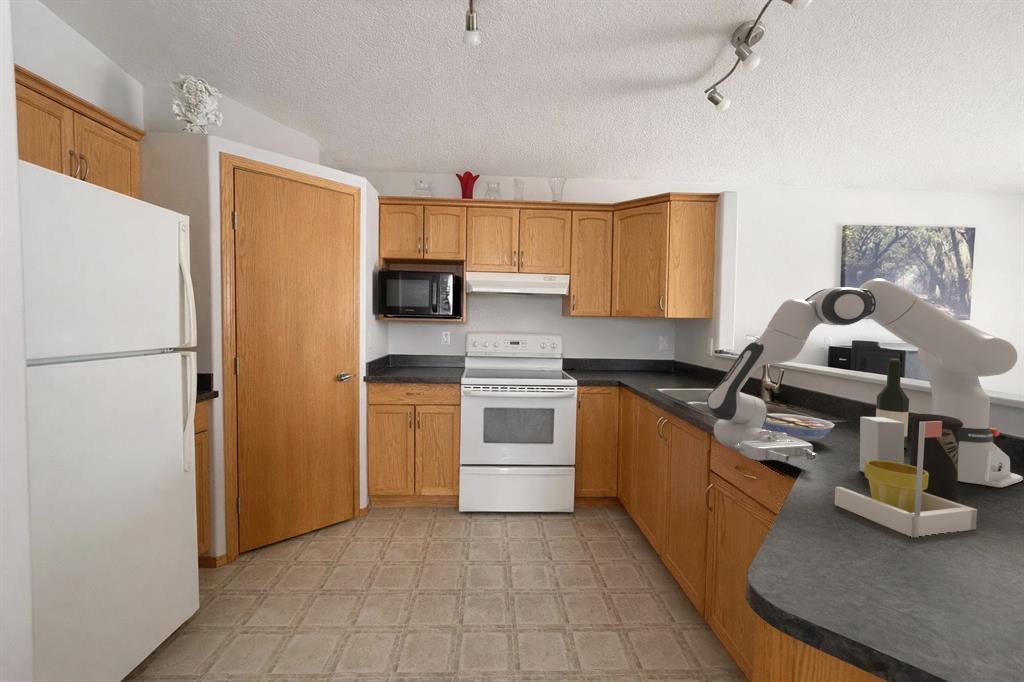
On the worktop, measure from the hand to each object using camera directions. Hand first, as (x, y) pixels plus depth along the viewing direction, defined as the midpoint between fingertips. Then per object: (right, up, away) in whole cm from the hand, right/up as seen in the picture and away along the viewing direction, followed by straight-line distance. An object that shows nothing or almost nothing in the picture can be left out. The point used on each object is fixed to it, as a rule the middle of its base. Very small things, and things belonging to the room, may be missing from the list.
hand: (801, 457), depth 115 cm
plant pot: (+7, -6, -20) cm, 22 cm away
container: (+22, -6, -13) cm, 26 cm away
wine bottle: (+53, -5, +34) cm, 64 cm away
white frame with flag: (+6, -6, -22) cm, 24 cm away
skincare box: (+23, -6, +3) cm, 24 cm away
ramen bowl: (+23, -4, +39) cm, 46 cm away
